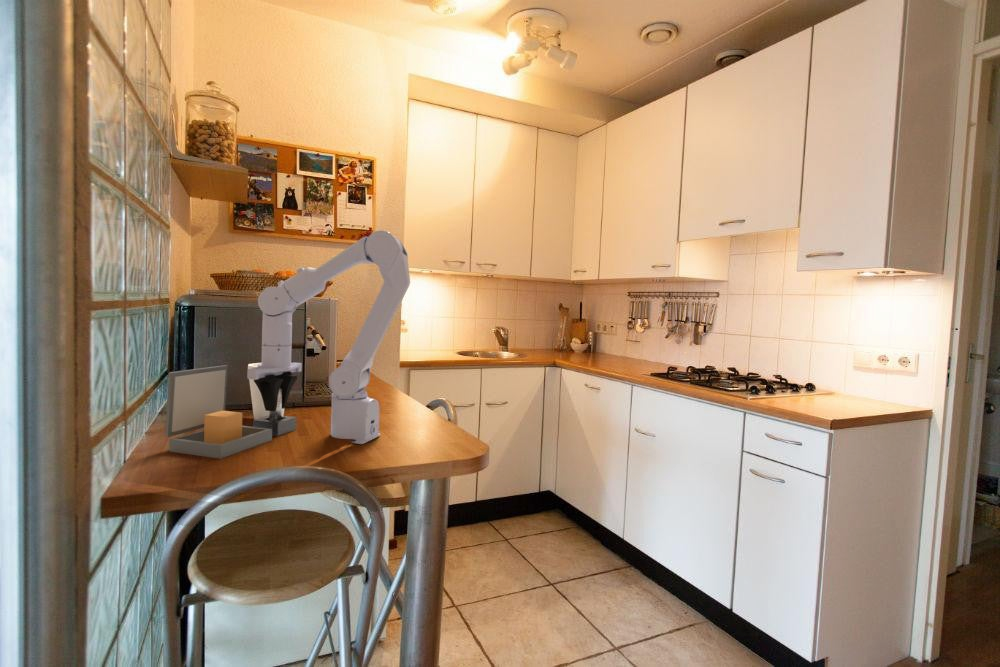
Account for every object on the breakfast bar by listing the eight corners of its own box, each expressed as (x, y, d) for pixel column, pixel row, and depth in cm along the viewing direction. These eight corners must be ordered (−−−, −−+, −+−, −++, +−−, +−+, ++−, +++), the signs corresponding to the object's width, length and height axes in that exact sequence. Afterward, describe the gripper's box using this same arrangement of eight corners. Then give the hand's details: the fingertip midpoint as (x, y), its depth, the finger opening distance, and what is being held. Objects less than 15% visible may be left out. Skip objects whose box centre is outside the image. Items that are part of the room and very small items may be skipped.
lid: (228, 365, 101) (225, 365, 101) (172, 373, 89) (168, 372, 89) (225, 422, 102) (221, 421, 102) (168, 437, 89) (165, 436, 89)
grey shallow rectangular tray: (271, 444, 99) (272, 429, 99) (220, 462, 87) (221, 445, 87) (225, 438, 102) (225, 423, 102) (169, 455, 89) (169, 439, 89)
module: (241, 443, 96) (242, 412, 96) (223, 449, 92) (224, 417, 91) (222, 441, 97) (223, 410, 97) (204, 447, 93) (204, 415, 92)
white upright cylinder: (284, 420, 107) (284, 388, 106) (275, 422, 104) (275, 389, 104) (275, 419, 108) (276, 386, 107) (266, 421, 105) (267, 388, 105)
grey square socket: (296, 433, 108) (296, 417, 108) (277, 439, 103) (278, 422, 102) (272, 430, 110) (272, 414, 110) (252, 436, 104) (252, 420, 104)
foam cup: (240, 417, 120) (241, 363, 119) (278, 412, 127) (279, 361, 126) (257, 424, 114) (259, 367, 113) (297, 419, 121) (298, 365, 120)
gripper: (283, 342, 113) (281, 401, 114) (234, 346, 99) (233, 414, 100) (310, 344, 112) (308, 404, 112) (265, 348, 97) (263, 417, 98)
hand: (275, 409), depth 106 cm, fingers closed on white upright cylinder, 2 cm apart
